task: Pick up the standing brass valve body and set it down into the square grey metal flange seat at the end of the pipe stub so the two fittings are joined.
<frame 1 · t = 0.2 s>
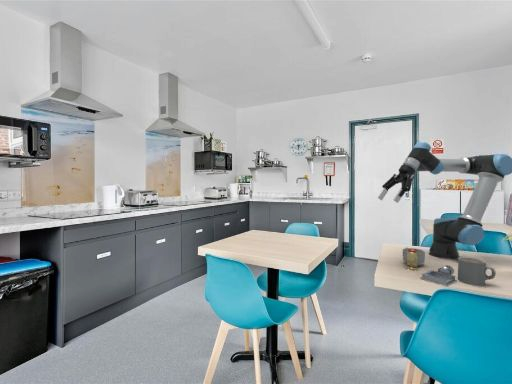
hand: (387, 200, 150), 35 cm above the table, tool tilted 35°, fingers open, 13 cm apart
flange seat: (438, 280, 130), on the table
coffee mug: (475, 282, 127), on the table
teacup: (411, 264, 154), on the table
valve: (411, 268, 146), on the table
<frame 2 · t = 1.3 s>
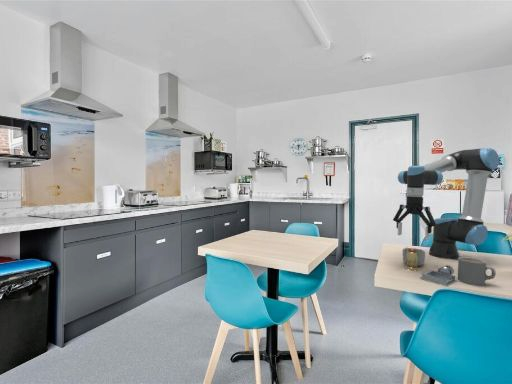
hand: (412, 237, 145), 16 cm above the table, tool pointing down, fingers open, 13 cm apart
nothing on the table moved.
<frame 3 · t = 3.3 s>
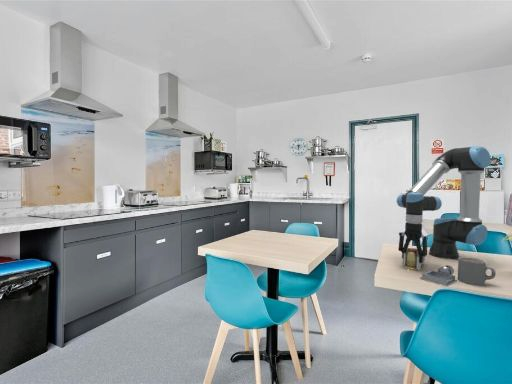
hand: (411, 266, 146), 1 cm above the table, tool pointing down, fingers closed on valve, 6 cm apart
valve: (411, 268, 146), on the table, touching gripper
everything else where it was.
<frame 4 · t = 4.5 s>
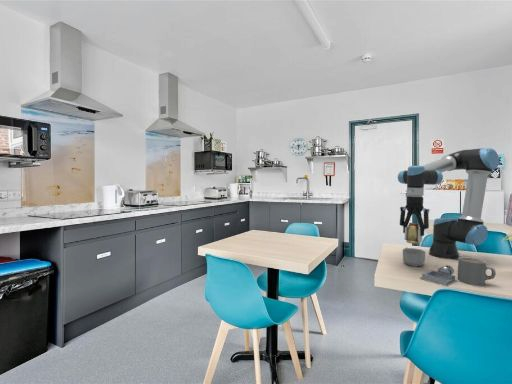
hand: (413, 240, 145), 15 cm above the table, tool pointing down, fingers closed on valve, 6 cm apart
valve: (413, 242, 145), point 14 cm above the table, touching gripper
everything else where it was.
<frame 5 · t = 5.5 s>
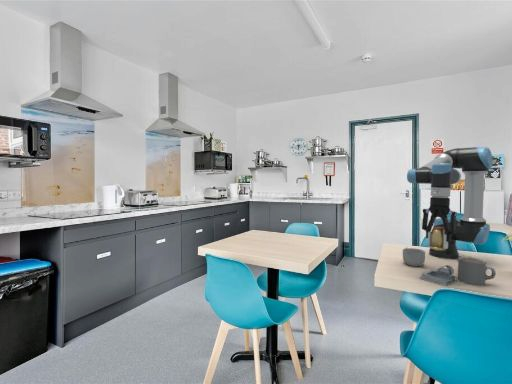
hand: (437, 246, 130), 15 cm above the table, tool pointing down, fingers closed on valve, 6 cm apart
valve: (437, 249, 130), point 14 cm above the table, touching gripper
everything else where it was.
when the fingers open (4 cm above the table, at t = 8.0 s): valve drops 2 cm, resting on flange seat.
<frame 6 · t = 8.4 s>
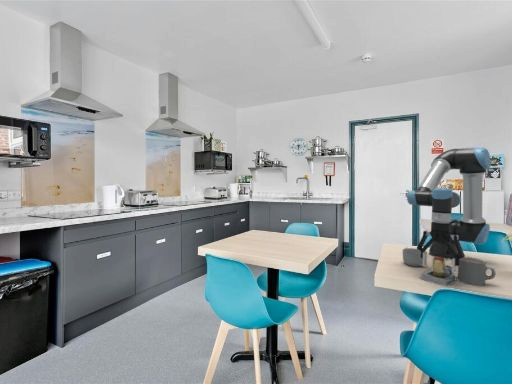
hand: (438, 268, 129), 5 cm above the table, tool pointing down, fingers open, 11 cm apart
valve: (438, 278, 130), point 1 cm above the table, touching flange seat
everything else where it was.
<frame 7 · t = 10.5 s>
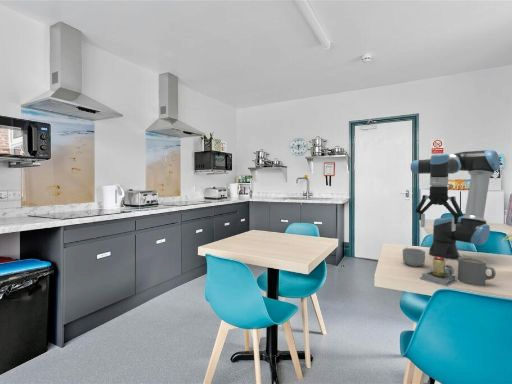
hand: (437, 228, 140), 22 cm above the table, tool pointing down, fingers open, 13 cm apart
nothing on the table moved.
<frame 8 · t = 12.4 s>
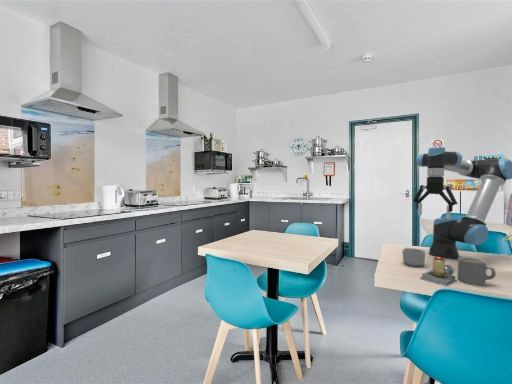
hand: (433, 216, 149), 27 cm above the table, tool pointing down, fingers open, 13 cm apart
nothing on the table moved.
at the end: valve 0.0 cm off-centre on the flange seat, point 0.6 cm above the flange seat's base; valve tilted 0°; the gripper is holding nothing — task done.
